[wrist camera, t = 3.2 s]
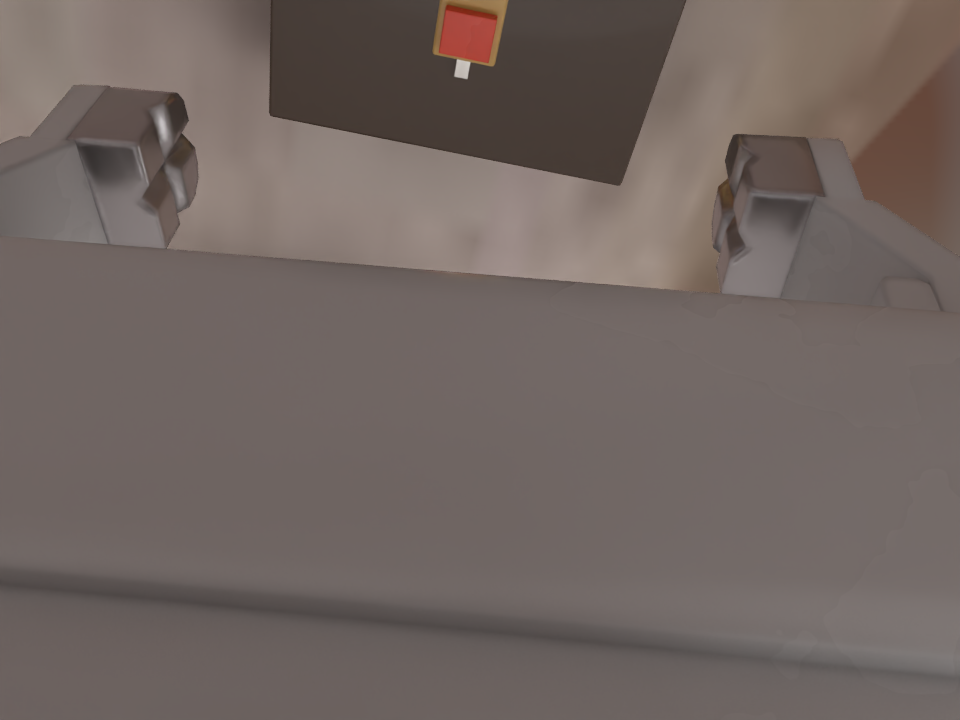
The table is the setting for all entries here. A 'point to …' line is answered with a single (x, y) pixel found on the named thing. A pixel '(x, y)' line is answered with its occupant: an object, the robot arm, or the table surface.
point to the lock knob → (469, 30)
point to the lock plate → (478, 78)
